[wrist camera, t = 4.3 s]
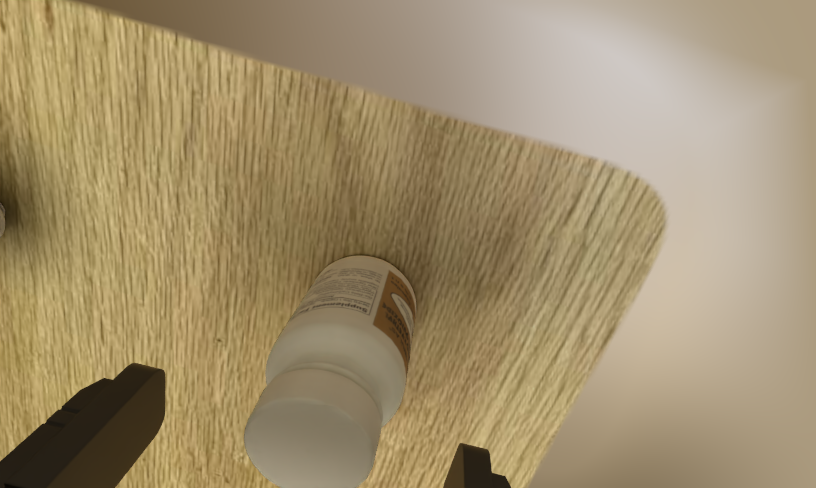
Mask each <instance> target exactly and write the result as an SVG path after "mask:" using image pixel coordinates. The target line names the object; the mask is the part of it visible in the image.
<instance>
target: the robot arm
mask: <svg viewBox="0 0 816 488" xmlns="http://www.w3.org/2000/svg"><path fill="white" fill-rule="evenodd" d="M164 416H165V372H164V370H162V369H158V368H154V367H150V366H146V365H141V364H137V363H132V364H130V365H129V366H127V367H126V368H125V369H124V370H123V371H122V372H121V373H120V374H119V375H118V376H117V377H116V378H115V379H114V380H110V379H106V378H103V379H101V380H99V381H97V382H95V383H93V384H91V385H90V386H88V387H86V388H84V389H82V390H80V391H79V392H78V393H77V394H76V395H74V396H73V397H72V398H71V399H70V400H69V401H68V402H67V403H65V404H64V405H63V406H62V409H61V410H58V411H56V412H55V413H54V414H53V415H52V416H51V417H50V418H49V419H48V420H47V422H46V423H45V424H42V425H41V426H40V427H39V428H37V429H36V430H35V431H34V432H33V433H32V434H31V435H30V436H28V437H27V438H26V439H25V440H24V441H23V442H22V443H21V444H19V445H18V446H17V447H16V448H15V449H14V450H13V451H12V452H10V453H9V454H8V455H7V456H6V457H5V458H4V459H3V460H1V461H0V488H115V487H116V486H117V485H118V483H119V482H120V481H121V479H122V478H123V477H124V476H125V474H126V473H127V472H128V471H129V469H130V468H131V467H132V465H133V464H134V463H135V462H136V460H137V459H138V458H139V457H140V455H141V454H142V453H143V451H144V450H145V449H146V448H147V446H148V445H149V444H150V443H151V441H152V440H153V439H154V437H155V436H156V434H157V433H158V431H159V429H160V427H161V425H162V422H163V420H164ZM443 488H511V486H510V485H509V483H508V481H507V479H506V477H505V476H502V475H498V474H494V473H492V471H491V461H490V454H489V451H488V450H487V449H483V448H479V447H475V446H471V445H467V444H463V443H460V444H459V446H458V448H457V451H456V453H455V456H454V459H453V461H452V464H451V467H450V469H449V472H448V475H447V477H446V480H445V483H444V487H443Z"/></svg>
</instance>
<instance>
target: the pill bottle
mask: <svg viewBox="0 0 816 488" xmlns="http://www.w3.org/2000/svg"><path fill="white" fill-rule="evenodd" d="M415 318H416V299H415V294H414V291H413V289H412V287H411V284H410V283H409V281H408V280H407V279H406V277H405V276H404V275H403V274H402V273H401V272H400V271H399V270H398V269H397V268H395V267H394V266H393V265H391V264H390V263H388V262H386V261H384V260H381V259H378V258H375V257H370V256H350V257H345V258H342V259H339V260H337V261H335V262H333V263H331V264H330V265H328V266H327V267H326V268H325V269H324V270H323V271H322V272H321V273H320V274H319V275H318V277H317V278H316V280H315V281H314V283H313V284H312V286H311V287H310V289H309V290H308V292H307V293H306V295H305V297H304V298H303V300H302V301H301V303H300V304H299V306H298V307H297V309H296V311H295V312H294V314H293V315H292V317H291V318H290V320H289V321H288V323H287V324H286V326H285V328H284V329H283V331H282V332H281V334H280V335H279V337H278V339H277V340H276V342H275V344H274V346H273V347H272V349H271V352H270V354H269V357H268V360H267V364H266V383H267V386H266V388H265V389H264V390H263V392H262V394H261V396H260V398H259V400H258V402H257V404H256V406H255V408H254V410H253V412H252V413H251V415H250V417H249V419H248V422H247V425H246V428H245V434H244V442H245V448H246V451H247V454H248V456H249V458H250V460H251V461H252V463H253V464H254V466H255V467H256V468H257V469H258V470H259V471H260V473H261V474H262V475H263V476H265V477H266V478H267V479H268V480H269V481H271V482H272V483H274V484H275V485H277V486H279V487H281V488H356V487H358V486H359V485H360V484H361V483H362V482H364V480H365V479H366V478H367V477H368V475H369V473H370V471H371V469H372V467H373V464H374V460H375V455H376V451H377V446H378V441H379V437H380V432H381V428H382V427H383V426H384V425H386V424H387V423H388V422H389V421H390V420H391V418H392V417H393V416H394V415H395V413H396V412H397V410H398V408H399V406H400V404H401V401H402V398H403V395H404V390H405V385H406V378H407V371H408V363H409V359H410V350H411V343H412V336H413V330H414V323H415Z"/></svg>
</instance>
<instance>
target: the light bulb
mask: <svg viewBox="0 0 816 488" xmlns="http://www.w3.org/2000/svg"><path fill="white" fill-rule="evenodd" d="M4 216H5V208H4V207H3V205H2V204H1V203H0V237H1V236H2V234H3V233H4V231H5V217H4Z"/></svg>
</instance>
